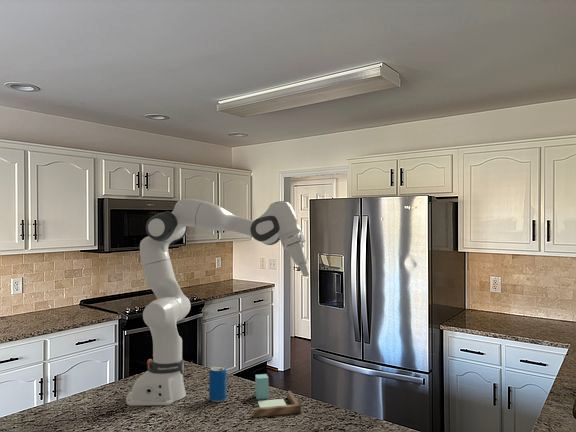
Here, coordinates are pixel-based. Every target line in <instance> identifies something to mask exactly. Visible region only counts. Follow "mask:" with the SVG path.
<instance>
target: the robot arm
mask: <svg viewBox="0 0 576 432" xmlns="http://www.w3.org/2000/svg"><path fill="white" fill-rule="evenodd" d="M189 227H192V228H196V229H198V230H199V229H200V230H206V231H217V232H220V231H221V232H235V233H238V234H241V235H246V236H251V237H252V238H253V239H254V240H256V241H257V242H260V243H262V244H264V245H267V246H273V245H276V244H277V243H278V242H280V243H281V246H282V249H283V250H287V252H288V253H289V255H290V257H291V258H292V260H293V262H294V264H295V265H297V266H298V268H299V269H300V272H301V274H302V276H304V277H308V276H309V275H310V273H309V271H308V266H307V264H308V260H307V259H306V255H305V253H304V251H303V248H304V247H305V245H304V243H305V242H306V239H305V236H304V234H303V233H304V232H303V230H302V229H301V227H300V225H299V222H298V218H297V216H296V213H295V211H294V209H293V207H292V205H291V204H290V203H289V202H287V201H285V200H283V201H282V200H281V201H280V200H279V201H276V202H272V203H271V204H270V205H268V208H267V209H266V210H265V211H264V213H262V214H261V215H260V216H259V217H258V218H256V219H254V220H253V219H249V218H246V217H242V216H239V215H235V214H234V213H232V212H230V211H228V210H226V208H223V207H222V206H220V205H218V204H215V203H213V202H210V201H207V200H202V199H195V198H180V199H179V200H178V201H177V202H176V203H175V205H174V208H173V210H172V211H170V210H166V211H163V212H160V213H157V214H154V215H153V216H151V217H150V218H148V220H147V221H146V224H145V231H146V234H147V235H148V236H145V237H143V239H142V240H140V243H139V252H140V253H139V255H140V262H141V266H142V267H141V268H142V271H143V275H144V279H145V283H146V286H147V287H148V288H149V289H150V290H151V291H152V292H153V294H154V296H155V297H156V299H155V300H153V301H151V302H150V303H148V304H147V305H146V306H145V308H144V309H143V311H142V319H143V322H144V324H145V325H146V326H147V327H149V331H150V334H151V338H152V357H153V358H149V359H147V362H146V364H147V371H145V372H144V373H143V374H142V375H140V376H139V377H137V379H135V381H134V383H133V385H132V389H131V391H130V392H128V394H127V395H126V397H125V403H126V405H127V406H131V407H132V406H169V405H171V404H172V403H174V402H177V401H180V400H182V399H184V398H185V397H186V395H187V392H186V388H185V384H184V377H183V376H184V375H183V374H184V367H185V365H184V358H183V338H182V337H181V336H180V335H179V332H178V327H177V323H178V322H180V321H181V320H184V318H186V316H187V315H188V314H189V313H190V311H191V307H192V306H191V301H190V299H189V298H188V297H187V296H186V295H185V294H184V293H183V291H182V289H181V287H180V285H179V283H178V281H177V279H176V275H175V272H174V269H173V265H172V260H171V256H170V252H169V246H170V245H174V244H175V243H177V242H178V241H180V240H181V239H183V238H184V237H185V236H186V235H187V233H188V231H189Z"/></svg>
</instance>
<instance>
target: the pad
mask: <svg viewBox="0 0 576 432" xmlns="http://www.w3.org/2000/svg"><path fill="white" fill-rule="evenodd" d="M257 403H258V408H262V407H273V406H283V405H287V403H286V402H285V400H284V398H280V399H279V398H278V399H277V398H276V399H263V400H257Z"/></svg>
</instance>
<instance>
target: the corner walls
mask: <svg viewBox="0 0 576 432" xmlns="http://www.w3.org/2000/svg"><path fill="white" fill-rule="evenodd" d="M286 397H287V400H288V401H289V403H290V404H286V405H283V406H273V407H262V408H260V407H253V408H252V417H253V418H260V417H267V416H268V417H271V416H280V415H281V416H282V415H289V414H300V413H301V412H302V408H301V407H302V406H301V404H300V402H299V401H298V399H297V397H296V396H295V394H294V393H293V392H292V390H287V391H286Z"/></svg>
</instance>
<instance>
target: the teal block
mask: <svg viewBox="0 0 576 432" xmlns="http://www.w3.org/2000/svg"><path fill="white" fill-rule="evenodd" d="M269 379H270V378H269V376H268V374H267V373H263V374H262V373H261V374H255V379H254V385H255V387H254V395H255V397H256V400H270V399H269V398H270V397H269V396H270V395H269V393H270V391H269V387H270V386H269V385H270V383H269Z"/></svg>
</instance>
